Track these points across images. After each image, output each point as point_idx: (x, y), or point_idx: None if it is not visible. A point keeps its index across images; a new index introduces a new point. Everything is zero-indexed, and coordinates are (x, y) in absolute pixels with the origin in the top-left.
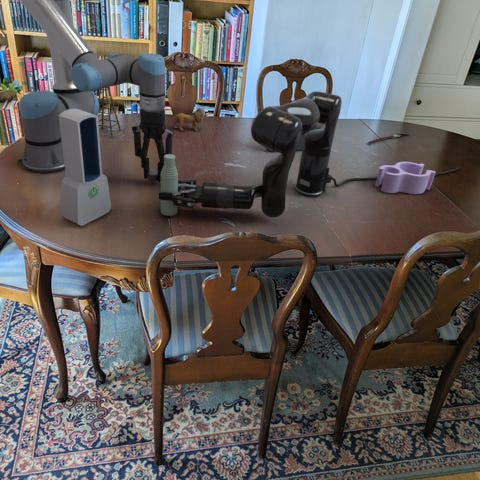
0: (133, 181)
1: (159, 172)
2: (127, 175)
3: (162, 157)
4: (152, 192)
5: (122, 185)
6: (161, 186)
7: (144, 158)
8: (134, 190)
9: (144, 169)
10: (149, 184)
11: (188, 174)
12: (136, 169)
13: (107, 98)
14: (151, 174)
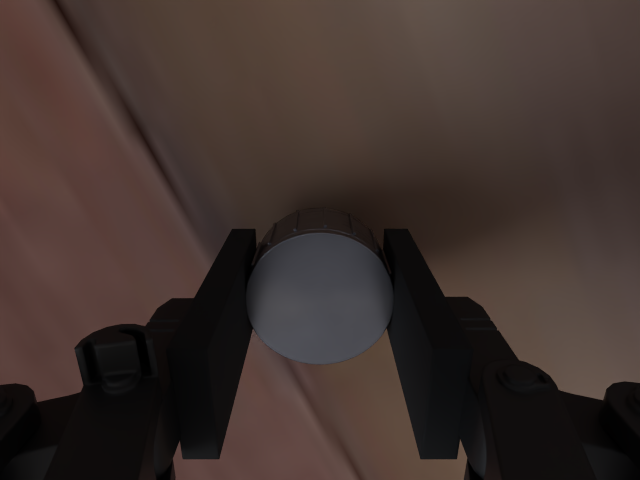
0: (502, 206)
1: (212, 275)
2: (588, 287)
3: (55, 454)
4: (247, 73)
5: (578, 83)
6: None
7: (473, 395)
8: (428, 31)
9: (420, 273)
10: None
11: None
12: None
13: None
14: (312, 237)
